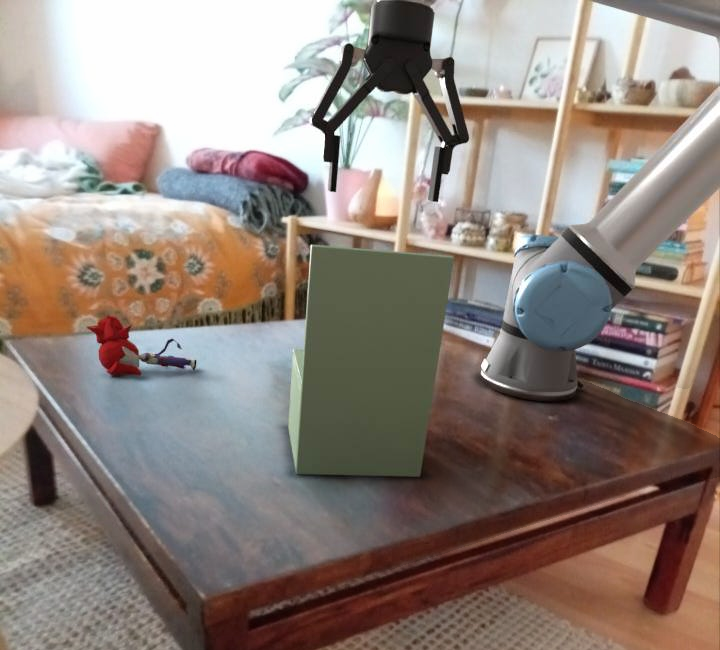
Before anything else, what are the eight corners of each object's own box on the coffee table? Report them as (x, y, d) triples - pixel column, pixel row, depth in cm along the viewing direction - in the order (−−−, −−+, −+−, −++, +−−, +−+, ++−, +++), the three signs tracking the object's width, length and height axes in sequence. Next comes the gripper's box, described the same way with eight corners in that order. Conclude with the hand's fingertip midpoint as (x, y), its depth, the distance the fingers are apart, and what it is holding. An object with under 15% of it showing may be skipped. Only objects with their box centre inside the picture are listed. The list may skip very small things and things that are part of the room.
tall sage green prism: (396, 431, 91) (423, 237, 80) (420, 477, 79) (454, 257, 69) (288, 427, 88) (300, 226, 77) (296, 474, 77) (311, 246, 66)
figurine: (192, 388, 105) (85, 374, 101) (198, 332, 105) (91, 316, 101) (194, 384, 99) (81, 369, 95) (200, 324, 99) (87, 307, 95)
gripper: (493, 22, 89) (465, 201, 98) (296, -7, 84) (286, 184, 93) (514, 14, 82) (481, 207, 91) (301, -18, 77) (290, 189, 87)
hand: (383, 196), depth 92 cm, fingers open, 13 cm apart
